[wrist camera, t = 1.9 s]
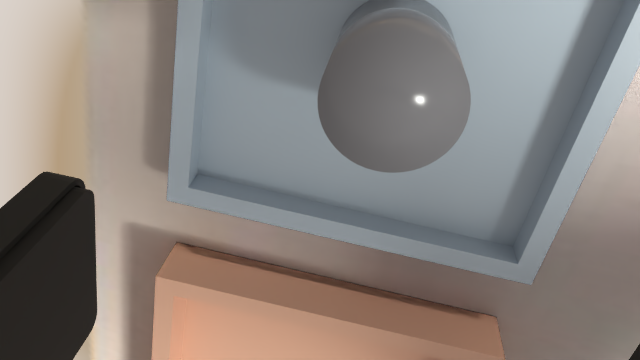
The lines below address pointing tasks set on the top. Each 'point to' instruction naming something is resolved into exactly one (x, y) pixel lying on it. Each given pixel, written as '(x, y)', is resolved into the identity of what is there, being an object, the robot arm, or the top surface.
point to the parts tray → (417, 185)
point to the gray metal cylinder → (394, 87)
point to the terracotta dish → (301, 316)
